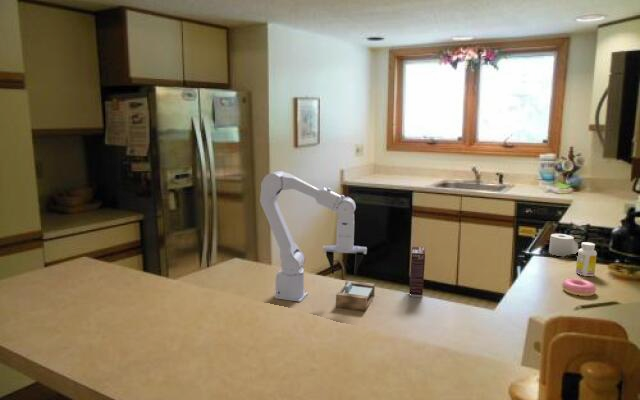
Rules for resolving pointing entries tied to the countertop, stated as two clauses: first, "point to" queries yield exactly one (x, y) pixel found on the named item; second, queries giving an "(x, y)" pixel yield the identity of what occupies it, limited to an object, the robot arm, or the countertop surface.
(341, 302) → the box
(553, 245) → the toilet tissue
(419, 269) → the supplement box
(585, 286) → the doughnut
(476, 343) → the countertop surface
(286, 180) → the robot arm
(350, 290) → the lid
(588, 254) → the supplement bottle
